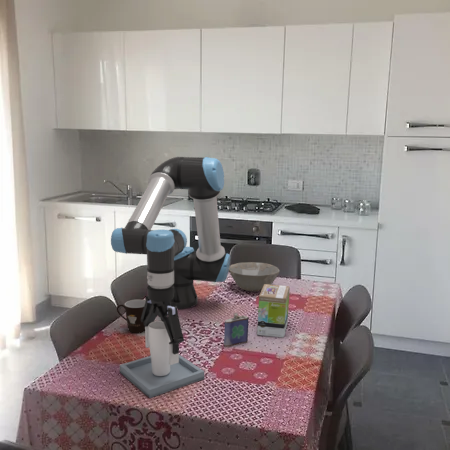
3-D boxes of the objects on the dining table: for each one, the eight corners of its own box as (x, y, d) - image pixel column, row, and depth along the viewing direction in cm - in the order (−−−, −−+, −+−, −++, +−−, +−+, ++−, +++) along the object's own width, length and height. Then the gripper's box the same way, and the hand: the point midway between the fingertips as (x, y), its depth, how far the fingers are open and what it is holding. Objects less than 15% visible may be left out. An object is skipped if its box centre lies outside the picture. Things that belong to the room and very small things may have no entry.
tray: (119, 372, 149) (119, 364, 149) (171, 356, 160) (171, 349, 159) (149, 398, 135) (149, 389, 135) (204, 378, 146) (204, 371, 145)
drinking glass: (163, 380, 143) (161, 331, 140) (144, 374, 146) (143, 326, 143) (177, 370, 149) (176, 323, 146) (159, 365, 152) (158, 318, 149)
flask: (226, 347, 167) (226, 317, 165) (221, 344, 170) (222, 314, 168) (249, 342, 172) (250, 312, 170) (244, 339, 174) (245, 309, 172)
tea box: (285, 338, 175) (286, 297, 173) (256, 335, 177) (257, 295, 175) (288, 322, 190) (289, 285, 187) (262, 320, 192) (263, 283, 189)
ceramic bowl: (280, 298, 217) (281, 275, 215) (227, 297, 218) (228, 274, 216) (276, 282, 239) (277, 262, 237) (228, 281, 239) (228, 261, 237)
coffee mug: (154, 330, 181) (154, 303, 179) (134, 336, 175) (134, 309, 173) (134, 321, 188) (134, 296, 187) (115, 327, 182) (114, 301, 180)
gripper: (128, 276, 150) (130, 343, 154) (172, 299, 130) (173, 375, 134) (150, 272, 154) (151, 337, 158) (196, 294, 135) (196, 367, 139)
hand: (161, 354), depth 146 cm, fingers open, 13 cm apart
